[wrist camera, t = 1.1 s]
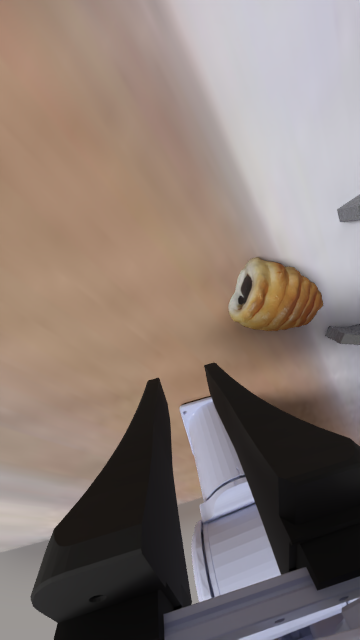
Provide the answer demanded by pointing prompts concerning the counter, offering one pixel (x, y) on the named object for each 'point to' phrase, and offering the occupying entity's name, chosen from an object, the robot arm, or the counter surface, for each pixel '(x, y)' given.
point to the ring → (356, 334)
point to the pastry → (273, 297)
